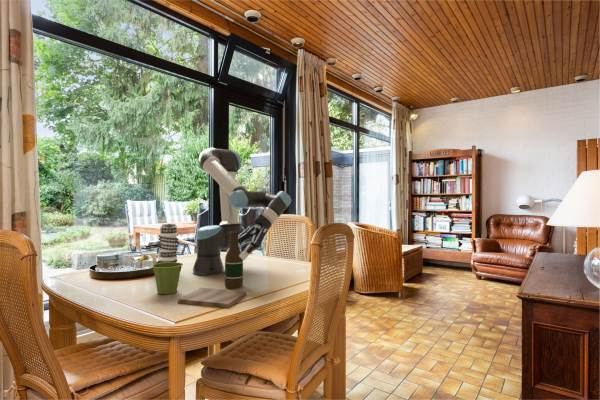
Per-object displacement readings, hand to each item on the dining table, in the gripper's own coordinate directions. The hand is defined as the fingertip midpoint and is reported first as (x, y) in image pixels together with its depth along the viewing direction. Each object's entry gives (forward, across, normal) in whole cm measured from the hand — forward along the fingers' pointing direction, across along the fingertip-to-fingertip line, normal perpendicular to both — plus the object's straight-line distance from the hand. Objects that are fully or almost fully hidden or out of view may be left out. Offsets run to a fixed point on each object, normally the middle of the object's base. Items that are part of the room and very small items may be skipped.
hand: (234, 256), depth 146 cm
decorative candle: (+22, +40, +3) cm, 46 cm away
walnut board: (+19, -11, 0) cm, 22 cm away
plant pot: (+28, +7, +9) cm, 30 cm away
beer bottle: (+10, +1, -10) cm, 14 cm away
